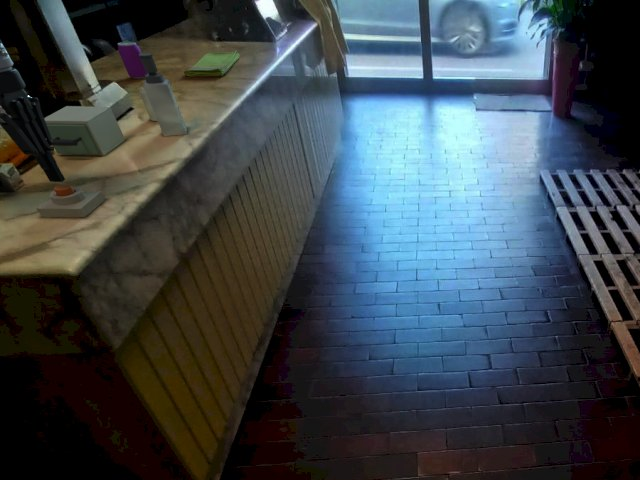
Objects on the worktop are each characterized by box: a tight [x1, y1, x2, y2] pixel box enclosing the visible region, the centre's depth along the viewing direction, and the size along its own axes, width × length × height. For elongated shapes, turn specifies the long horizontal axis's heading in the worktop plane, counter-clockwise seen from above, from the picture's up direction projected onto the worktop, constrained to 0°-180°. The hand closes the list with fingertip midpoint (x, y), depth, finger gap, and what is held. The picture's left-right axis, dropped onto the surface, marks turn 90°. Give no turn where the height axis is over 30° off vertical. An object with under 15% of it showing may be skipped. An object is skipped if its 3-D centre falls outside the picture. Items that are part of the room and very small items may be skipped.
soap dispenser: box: [139, 52, 187, 137], centre depth 162 cm, size 6×9×22 cm
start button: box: [53, 183, 75, 196], centre depth 125 cm, size 4×4×2 cm
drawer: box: [47, 124, 100, 155], centre depth 151 cm, size 17×11×8 cm
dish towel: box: [183, 50, 241, 78], centre depth 228 cm, size 15×36×3 cm, turn 10°
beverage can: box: [117, 41, 148, 80], centre depth 209 cm, size 8×8×12 cm
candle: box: [138, 85, 158, 122], centre depth 174 cm, size 6×6×10 cm
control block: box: [36, 186, 106, 218], centre depth 126 cm, size 10×10×4 cm
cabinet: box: [44, 105, 126, 157], centre depth 153 cm, size 14×13×10 cm
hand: (57, 180), depth 123 cm, fingers closed
